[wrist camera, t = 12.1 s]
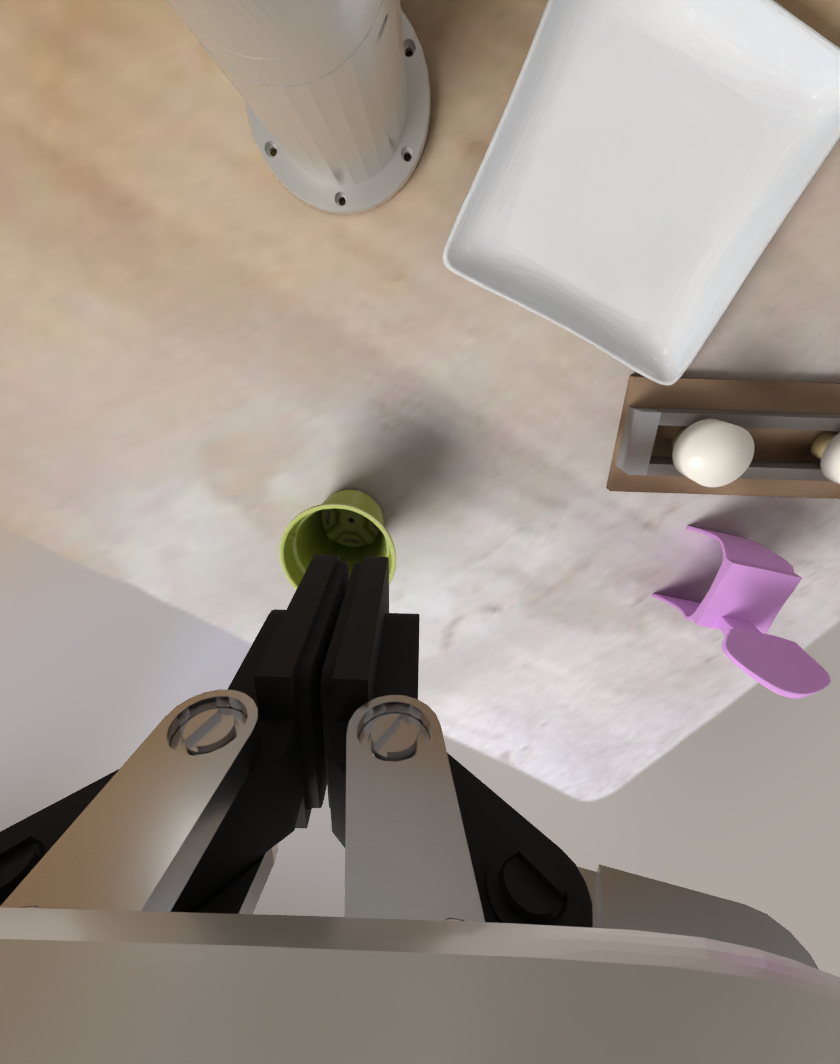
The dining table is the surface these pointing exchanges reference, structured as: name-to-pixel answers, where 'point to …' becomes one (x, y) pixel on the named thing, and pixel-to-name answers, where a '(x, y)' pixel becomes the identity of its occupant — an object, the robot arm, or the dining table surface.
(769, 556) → the toy chair
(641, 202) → the salad plate
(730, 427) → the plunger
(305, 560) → the plant pot
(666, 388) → the mount
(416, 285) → the dining table surface
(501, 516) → the dining table surface
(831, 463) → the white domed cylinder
